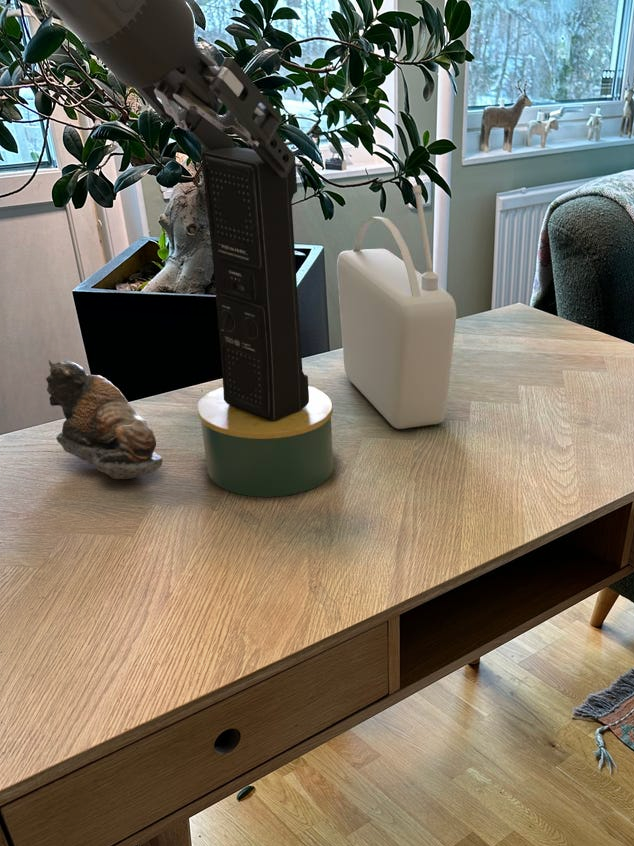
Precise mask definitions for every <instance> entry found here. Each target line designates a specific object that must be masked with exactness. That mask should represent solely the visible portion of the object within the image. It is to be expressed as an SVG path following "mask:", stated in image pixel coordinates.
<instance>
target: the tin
mask: <svg viewBox="0 0 634 846" xmlns="http://www.w3.org/2000/svg"><path fill="white" fill-rule="evenodd" d="M308 388H309V403H308V404H307V405H306V406H305V407H304V408H302V409H301V410H299V411H297V412H295V413H292V414H290V415H288V416H285V417H283V418H281V419H278V420H276V421H269V420H267V419H264V418H262V417H259V416H257V415H254V414H251V413H249V412H246V411H244V410H241V409H239V408H236V407H234V406H231V405H228V404H227V403H226V402H225V401H224V394H223V386H221V387H217V388H216V389H213V390H212V391H210V392H208V393H206V394H205V395H203V396H202V398H200V399H199V401H198V403H197V407H196V412H197V416H198V419H199V421H200V425H201V432H202V439H203V446H204V453H205V461H206V467H207V474H208V477H209V478H210V479H211V481H212V482H213V483H214V484H215V485H216V486H218V487H220V488H221V489H223V490H225V491H227V492H230V493H234V494H238V495H243V496H246V497H256V498H258V497H259V498H276V497H285V496H286V497H287V496H292V495H297V494H301V493H305V492H307V491H310V490H312V489H315V488H318V487H319V486H320V485H322V484H324V483H325V482H326V481H327V480H328V479H329V478H330V477H331V475H332V474H333V470H334V453H333V431H332V429H333V428H332V416H333V413H334V411H333V410H334V408H333V401H332V400H331V398H330V397H329V396H328V395H327V394H326V393H325V392H324V391H322V390H320V389H318V388H316V387H314V386H311V385H308Z"/></svg>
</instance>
